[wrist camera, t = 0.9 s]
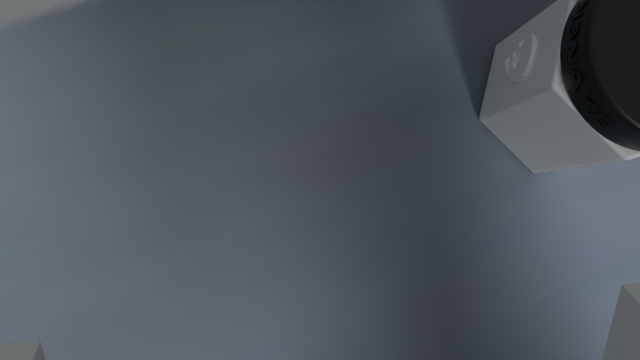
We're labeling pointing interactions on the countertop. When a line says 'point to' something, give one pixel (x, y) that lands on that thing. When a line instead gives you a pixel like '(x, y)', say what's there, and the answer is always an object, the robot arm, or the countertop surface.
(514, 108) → the jar
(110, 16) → the countertop surface
